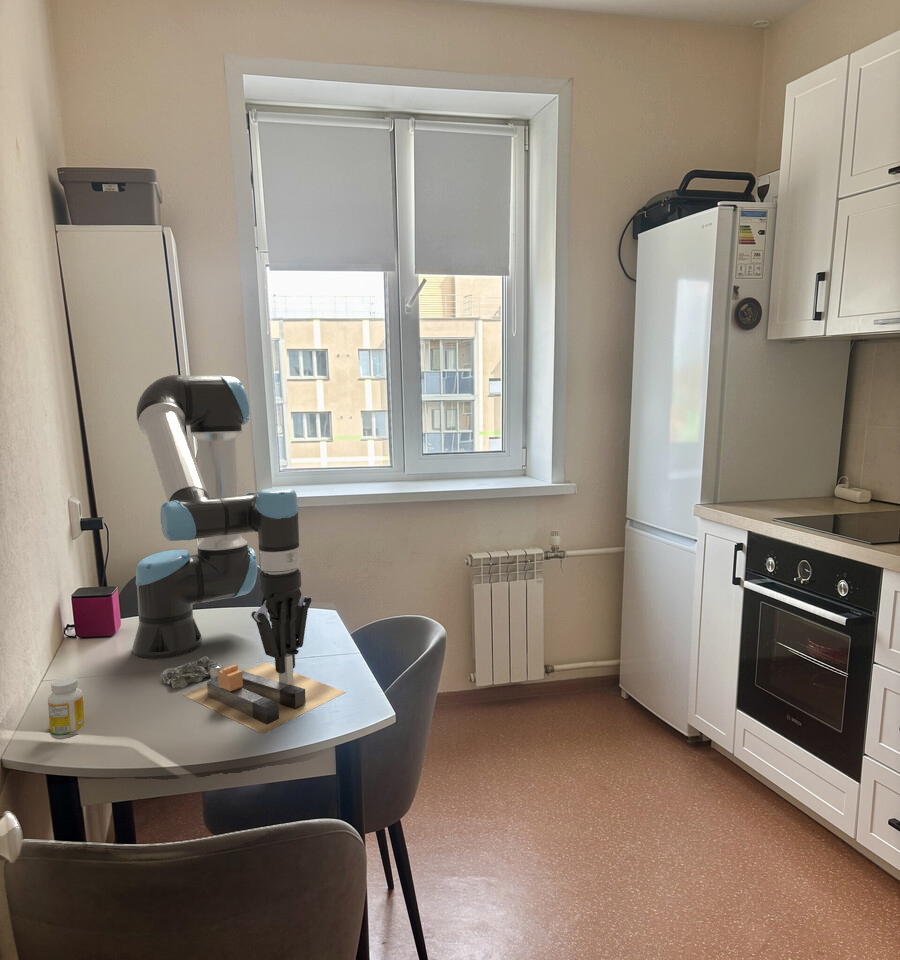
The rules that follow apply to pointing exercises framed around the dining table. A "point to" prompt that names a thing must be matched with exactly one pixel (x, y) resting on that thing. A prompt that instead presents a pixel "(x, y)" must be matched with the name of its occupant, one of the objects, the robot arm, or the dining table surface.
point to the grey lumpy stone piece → (188, 667)
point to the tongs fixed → (242, 699)
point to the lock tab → (230, 678)
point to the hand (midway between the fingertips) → (286, 686)
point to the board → (313, 696)
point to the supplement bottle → (65, 708)
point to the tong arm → (274, 690)
